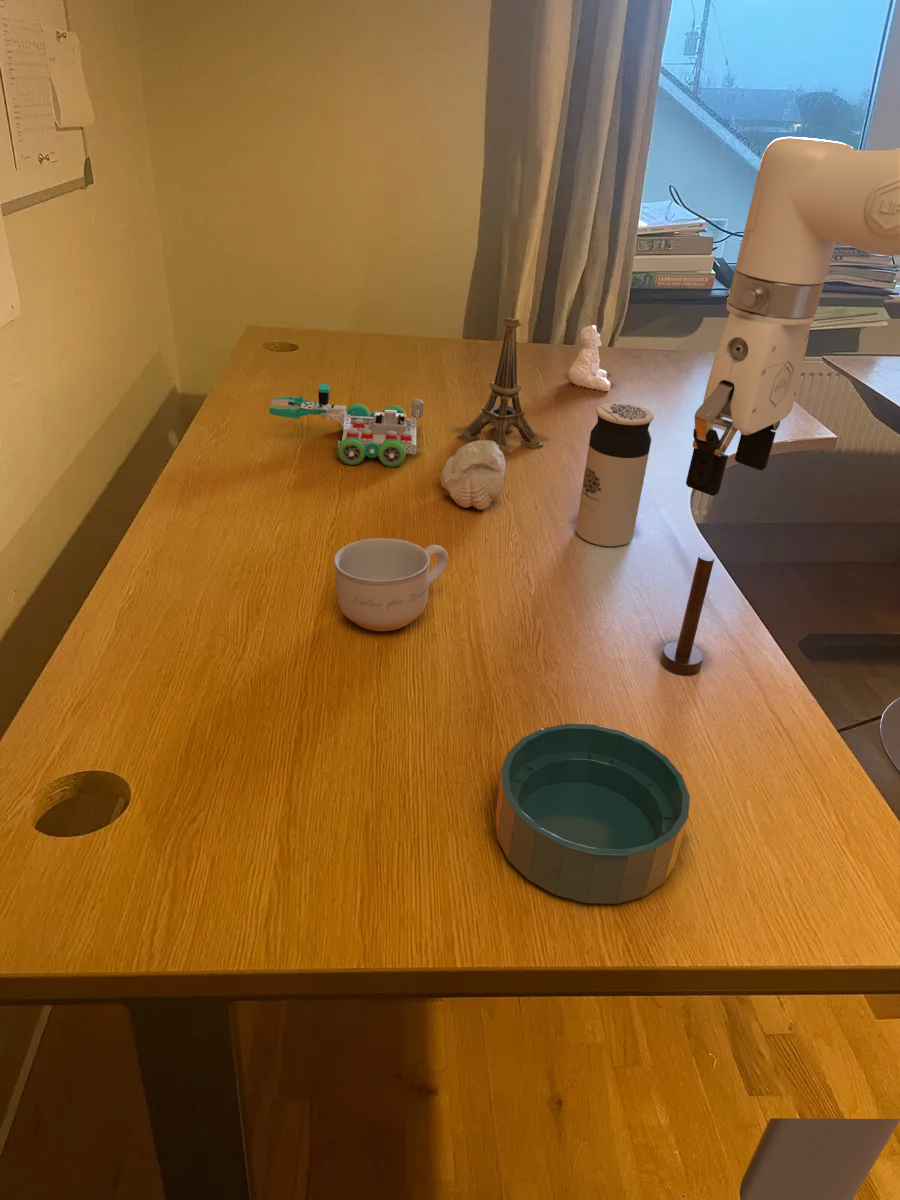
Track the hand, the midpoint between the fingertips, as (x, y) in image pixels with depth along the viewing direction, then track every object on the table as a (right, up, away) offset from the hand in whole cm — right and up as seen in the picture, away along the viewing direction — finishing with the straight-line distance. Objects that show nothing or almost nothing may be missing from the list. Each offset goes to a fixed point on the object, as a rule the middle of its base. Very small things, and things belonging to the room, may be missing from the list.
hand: (726, 477), depth 87 cm
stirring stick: (-1, -19, +12) cm, 23 cm away
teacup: (-34, -14, +17) cm, 40 cm away
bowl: (-16, -32, -11) cm, 37 cm away
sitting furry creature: (+2, +33, +98) cm, 103 cm away
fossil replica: (-24, +3, +46) cm, 52 cm away
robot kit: (-44, +14, +61) cm, 76 cm away
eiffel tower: (-18, +15, +67) cm, 71 cm away
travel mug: (-5, -3, +38) cm, 39 cm away
